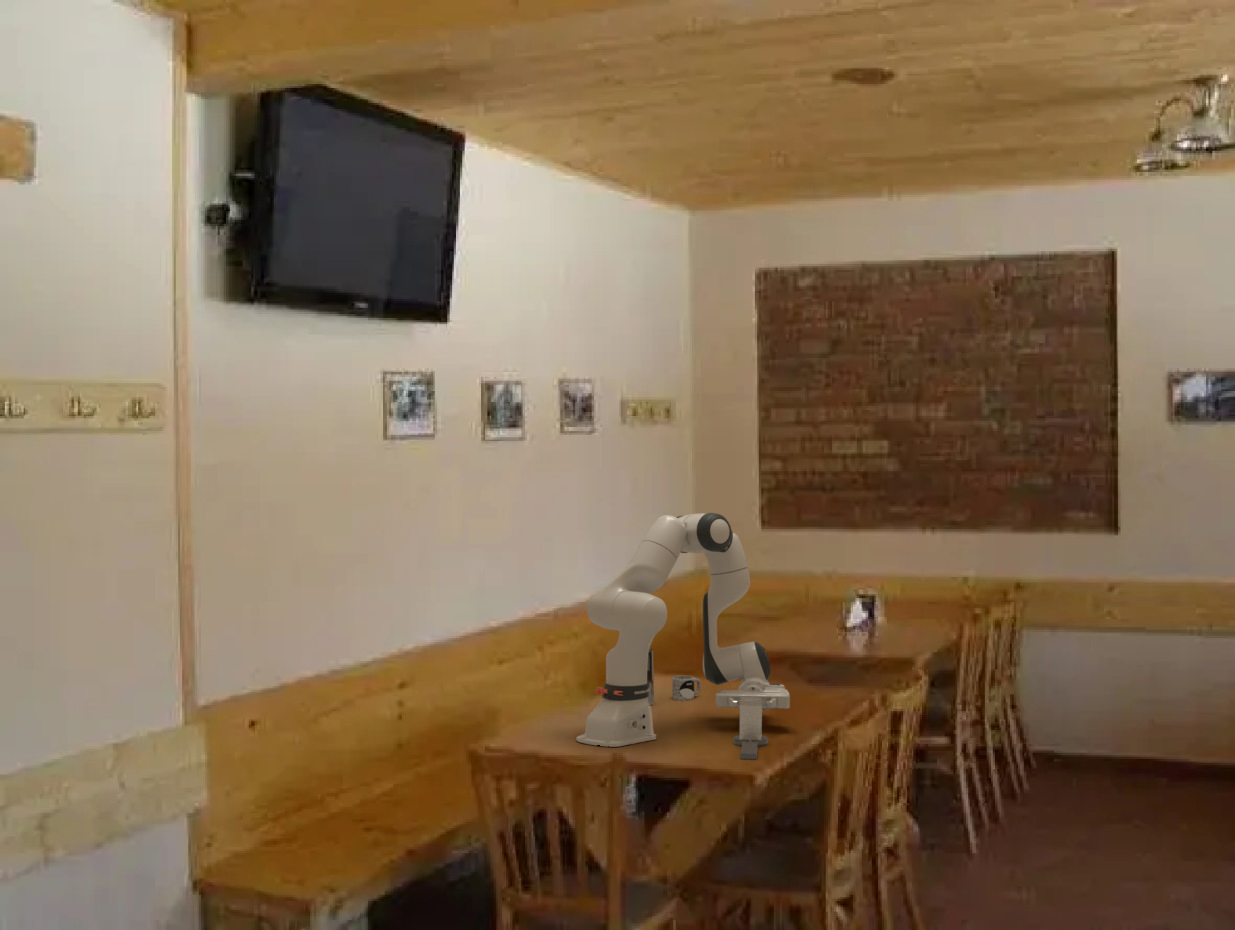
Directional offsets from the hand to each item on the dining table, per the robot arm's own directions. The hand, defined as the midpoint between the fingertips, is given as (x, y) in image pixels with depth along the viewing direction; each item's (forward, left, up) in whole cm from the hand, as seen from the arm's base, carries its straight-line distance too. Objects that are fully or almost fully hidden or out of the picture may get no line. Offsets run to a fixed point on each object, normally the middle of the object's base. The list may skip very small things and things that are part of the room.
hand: (752, 704), depth 408 cm
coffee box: (+20, +52, -9) cm, 57 cm away
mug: (+36, +45, -9) cm, 59 cm away
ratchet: (-15, -8, -8) cm, 19 cm away
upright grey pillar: (-8, -5, -7) cm, 12 cm away
